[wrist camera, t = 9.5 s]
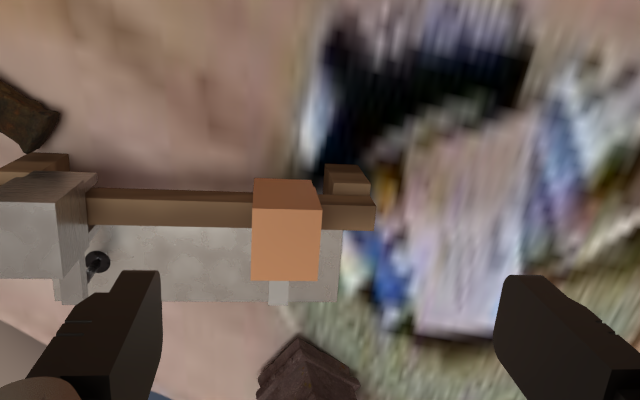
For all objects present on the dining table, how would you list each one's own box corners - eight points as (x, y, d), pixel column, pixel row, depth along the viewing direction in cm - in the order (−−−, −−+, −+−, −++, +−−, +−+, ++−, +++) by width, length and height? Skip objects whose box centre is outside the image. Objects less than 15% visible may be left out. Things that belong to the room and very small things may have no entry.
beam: (30, 152, 42) (-26, 181, 34) (357, 164, 45) (377, 193, 37) (35, 197, 43) (-17, 235, 35) (353, 206, 46) (372, 242, 38)
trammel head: (255, 159, 42) (252, 208, 31) (306, 161, 43) (322, 210, 31) (252, 272, 46) (248, 355, 34) (299, 273, 46) (312, 354, 35)
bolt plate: (50, 214, 43) (45, 219, 42) (341, 221, 47) (343, 226, 46) (59, 295, 46) (54, 301, 45) (335, 296, 49) (336, 302, 48)
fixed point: (58, 152, 40) (-26, 201, 29) (114, 154, 41) (54, 203, 29) (70, 270, 44) (-1, 357, 32) (122, 271, 44) (71, 356, 33)
